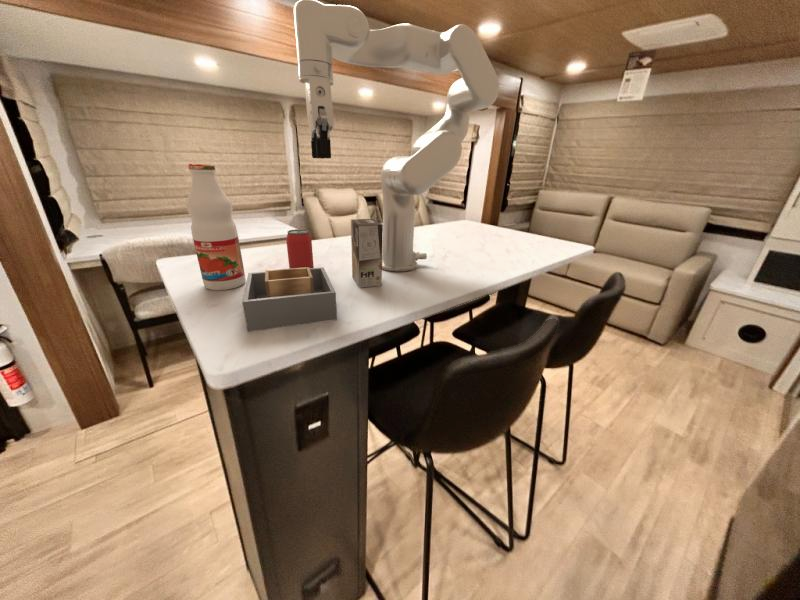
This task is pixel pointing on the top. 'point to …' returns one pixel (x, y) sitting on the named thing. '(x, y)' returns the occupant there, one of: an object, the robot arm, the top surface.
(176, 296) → the top surface
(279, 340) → the top surface
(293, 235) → the beer can
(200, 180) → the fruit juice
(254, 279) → the big crate
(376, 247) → the coffee box
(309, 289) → the small crate
